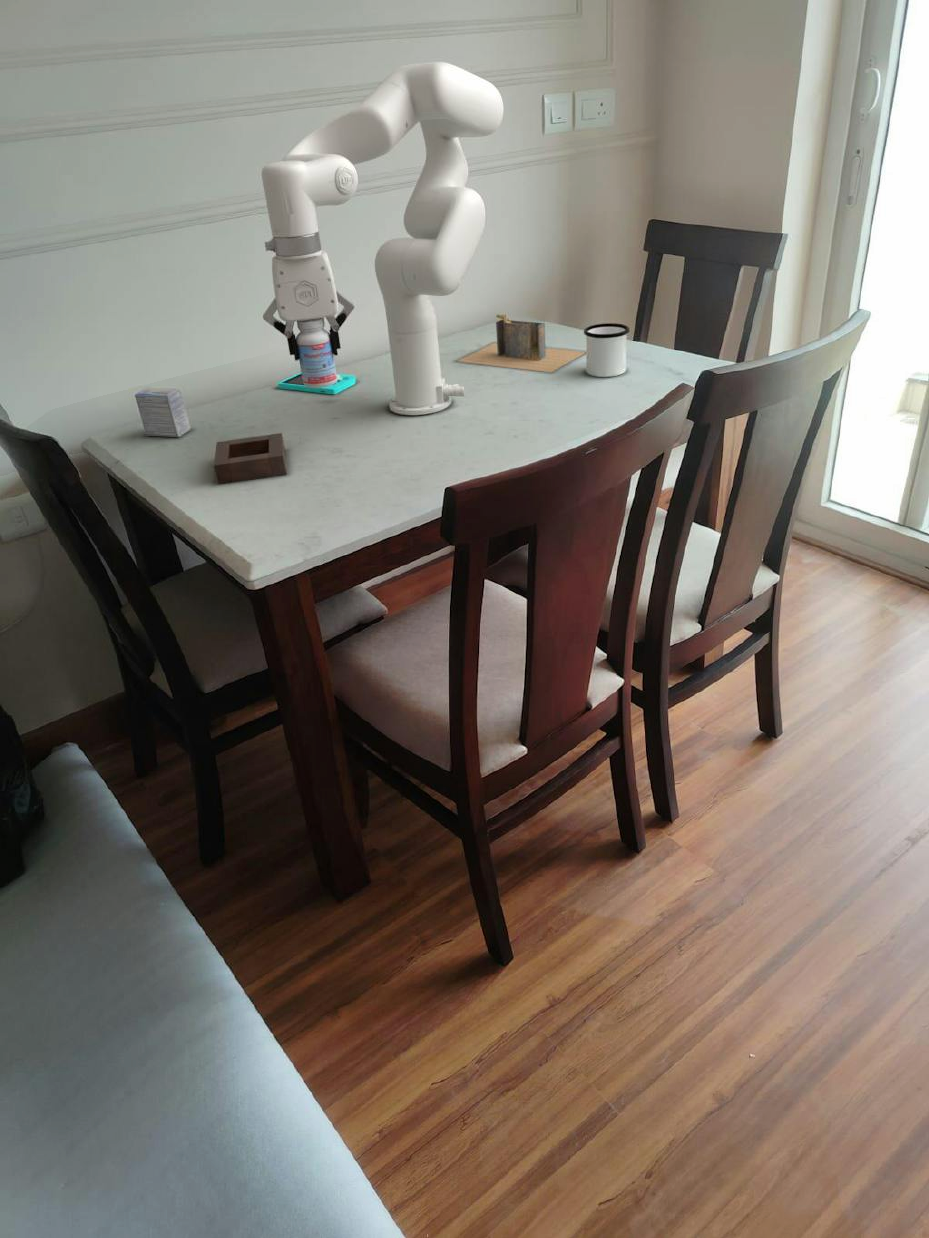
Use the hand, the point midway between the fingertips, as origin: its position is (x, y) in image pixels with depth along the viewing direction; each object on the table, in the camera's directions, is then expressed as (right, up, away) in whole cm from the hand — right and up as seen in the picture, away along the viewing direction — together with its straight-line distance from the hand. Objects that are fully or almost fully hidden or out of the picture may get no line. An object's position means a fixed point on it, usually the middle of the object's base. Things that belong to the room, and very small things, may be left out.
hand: (316, 355), depth 154 cm
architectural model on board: (+39, +14, +50) cm, 65 cm away
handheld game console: (-7, +6, +43) cm, 44 cm away
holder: (-12, -19, +4) cm, 23 cm away
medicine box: (-33, -9, +23) cm, 42 cm away
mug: (+57, +7, +36) cm, 68 cm away
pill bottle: (0, -4, +3) cm, 5 cm away
